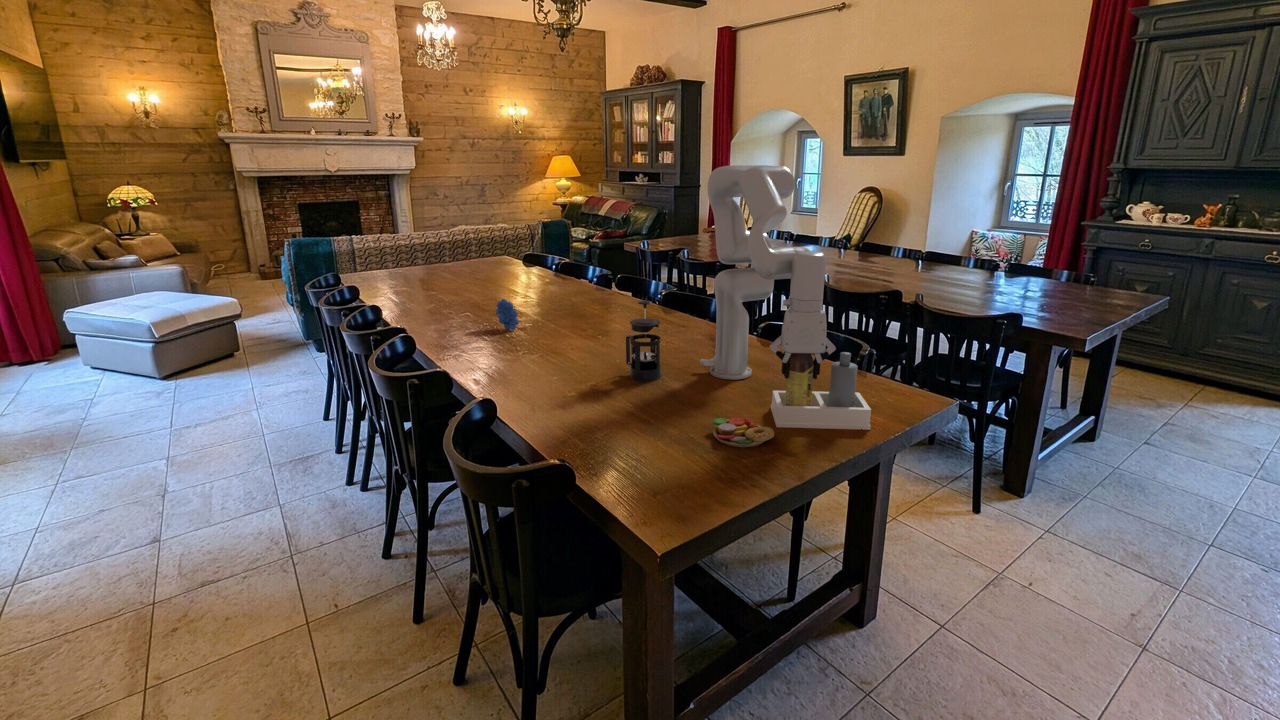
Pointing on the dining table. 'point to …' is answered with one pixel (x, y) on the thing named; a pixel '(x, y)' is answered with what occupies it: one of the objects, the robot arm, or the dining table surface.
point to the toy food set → (740, 432)
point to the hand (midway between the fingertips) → (800, 376)
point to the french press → (645, 363)
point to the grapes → (507, 314)
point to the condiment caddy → (827, 403)
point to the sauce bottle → (799, 380)
